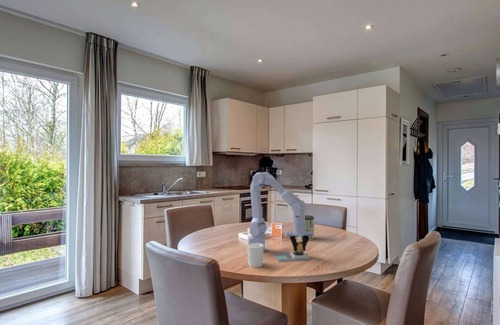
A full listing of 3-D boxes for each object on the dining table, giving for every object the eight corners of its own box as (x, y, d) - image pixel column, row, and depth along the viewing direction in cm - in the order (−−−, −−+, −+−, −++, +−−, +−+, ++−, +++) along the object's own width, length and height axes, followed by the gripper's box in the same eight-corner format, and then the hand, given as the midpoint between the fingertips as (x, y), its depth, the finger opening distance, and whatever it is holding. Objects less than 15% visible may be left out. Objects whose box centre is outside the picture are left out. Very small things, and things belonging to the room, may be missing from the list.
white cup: (263, 263, 141) (262, 242, 141) (264, 269, 133) (264, 247, 133) (247, 263, 141) (246, 243, 141) (247, 269, 133) (247, 247, 133)
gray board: (279, 264, 139) (279, 259, 139) (273, 255, 153) (273, 250, 153) (311, 262, 142) (311, 257, 142) (302, 253, 156) (302, 249, 156)
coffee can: (297, 236, 192) (297, 215, 193) (313, 236, 191) (312, 215, 192) (298, 240, 182) (298, 218, 182) (315, 240, 181) (314, 218, 181)
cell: (296, 255, 146) (296, 242, 146) (294, 253, 150) (294, 240, 150) (304, 255, 146) (304, 242, 146) (302, 252, 150) (301, 240, 150)
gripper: (287, 226, 143) (287, 253, 143) (315, 225, 145) (315, 252, 145) (283, 223, 150) (284, 249, 150) (310, 222, 152) (310, 248, 152)
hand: (299, 250), depth 148 cm, fingers closed on cell, 4 cm apart
